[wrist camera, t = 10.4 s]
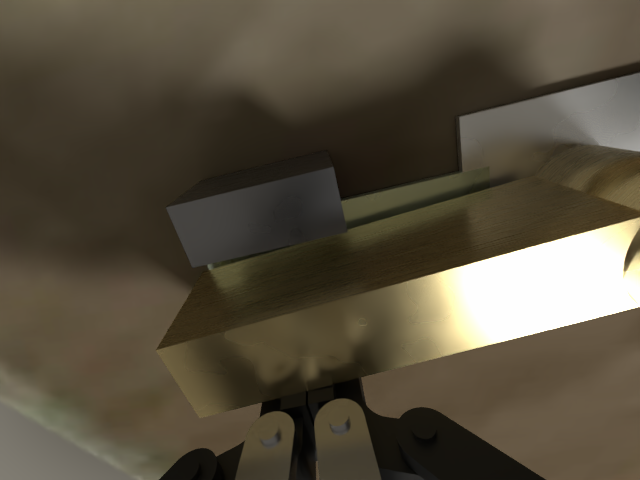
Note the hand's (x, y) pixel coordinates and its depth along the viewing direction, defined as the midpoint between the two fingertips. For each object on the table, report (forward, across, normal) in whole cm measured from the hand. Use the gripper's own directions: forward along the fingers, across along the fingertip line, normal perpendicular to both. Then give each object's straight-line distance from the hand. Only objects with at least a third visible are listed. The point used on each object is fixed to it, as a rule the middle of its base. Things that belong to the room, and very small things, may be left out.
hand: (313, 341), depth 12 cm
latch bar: (+2, -10, -3) cm, 10 cm away
